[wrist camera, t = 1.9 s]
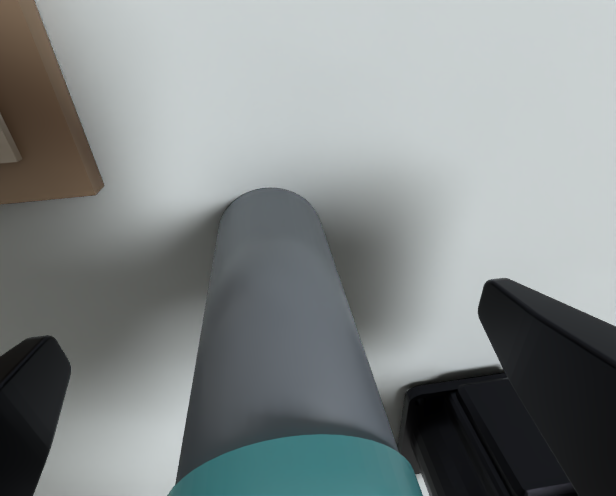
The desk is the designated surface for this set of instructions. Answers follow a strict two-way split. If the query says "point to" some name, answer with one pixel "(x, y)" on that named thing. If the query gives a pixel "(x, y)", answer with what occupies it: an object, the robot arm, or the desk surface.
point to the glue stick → (283, 369)
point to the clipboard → (38, 116)
